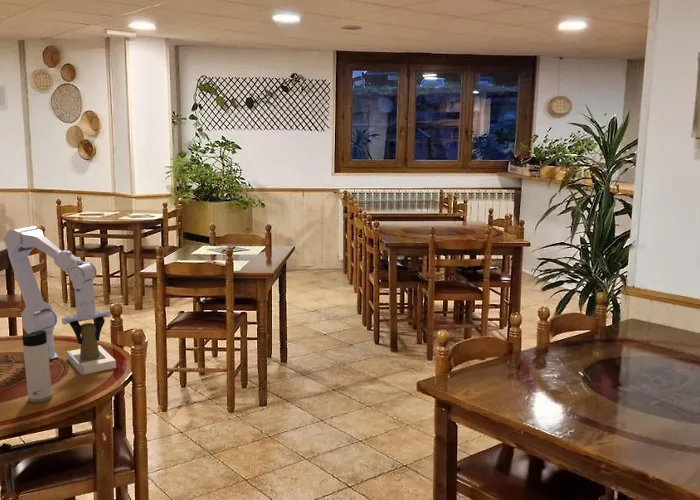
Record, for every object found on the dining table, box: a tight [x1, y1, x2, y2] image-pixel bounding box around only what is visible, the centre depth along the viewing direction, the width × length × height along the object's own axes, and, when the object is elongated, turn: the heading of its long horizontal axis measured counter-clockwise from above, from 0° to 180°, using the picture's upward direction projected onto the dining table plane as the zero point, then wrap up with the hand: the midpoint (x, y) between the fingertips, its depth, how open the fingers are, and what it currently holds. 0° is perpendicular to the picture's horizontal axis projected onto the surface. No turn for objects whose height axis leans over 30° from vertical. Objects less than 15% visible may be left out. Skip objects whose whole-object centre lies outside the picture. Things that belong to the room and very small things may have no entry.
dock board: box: [66, 345, 117, 376], centre depth 225 cm, size 18×11×3 cm, turn 35°
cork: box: [80, 322, 100, 360], centre depth 222 cm, size 6×6×11 cm
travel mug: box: [22, 331, 53, 403], centre depth 195 cm, size 6×7×20 cm
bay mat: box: [74, 351, 106, 363], centre depth 223 cm, size 8×8×1 cm
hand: (88, 341), depth 222 cm, fingers closed on cork, 5 cm apart
